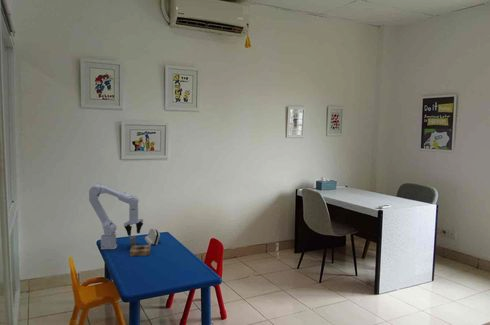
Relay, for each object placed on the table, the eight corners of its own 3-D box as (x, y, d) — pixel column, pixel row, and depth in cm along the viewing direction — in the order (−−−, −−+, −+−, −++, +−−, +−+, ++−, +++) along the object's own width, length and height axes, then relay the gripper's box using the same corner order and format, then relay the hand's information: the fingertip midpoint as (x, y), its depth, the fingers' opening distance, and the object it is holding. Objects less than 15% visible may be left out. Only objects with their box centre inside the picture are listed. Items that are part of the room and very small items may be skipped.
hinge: (144, 239, 274) (149, 226, 275) (150, 240, 277) (155, 227, 277) (150, 245, 260) (154, 231, 260) (156, 247, 262) (161, 233, 263)
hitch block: (129, 256, 238) (129, 251, 238) (132, 250, 250) (132, 245, 250) (149, 255, 240) (149, 250, 240) (150, 249, 252) (150, 245, 252)
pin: (130, 248, 254) (130, 238, 253) (130, 246, 258) (130, 236, 257) (135, 247, 255) (135, 237, 254) (136, 246, 258) (136, 236, 257)
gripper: (128, 217, 246) (128, 237, 247) (146, 213, 258) (146, 233, 259) (121, 216, 250) (122, 236, 251) (139, 212, 262) (139, 231, 263)
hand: (133, 234), depth 255 cm, fingers open, 7 cm apart
